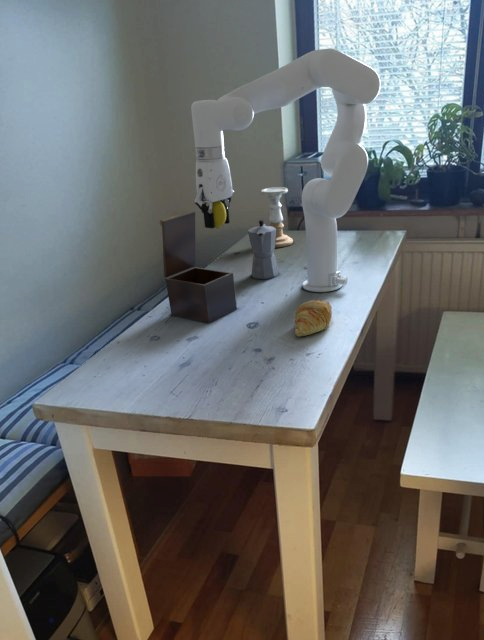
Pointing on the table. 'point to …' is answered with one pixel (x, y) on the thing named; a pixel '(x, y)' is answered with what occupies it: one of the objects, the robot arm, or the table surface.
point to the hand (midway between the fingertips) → (217, 224)
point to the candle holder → (277, 215)
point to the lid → (178, 243)
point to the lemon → (218, 213)
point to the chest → (201, 294)
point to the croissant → (312, 317)
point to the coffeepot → (263, 251)
